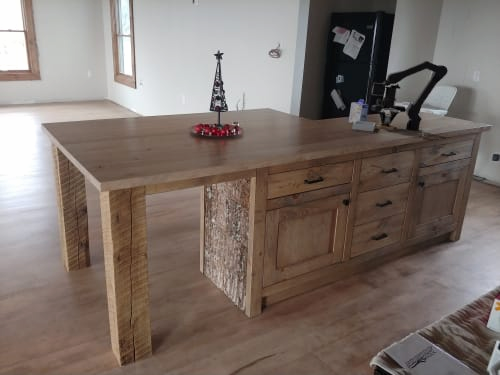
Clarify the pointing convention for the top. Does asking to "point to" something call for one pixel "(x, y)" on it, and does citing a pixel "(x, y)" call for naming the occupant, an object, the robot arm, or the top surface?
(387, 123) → the plug
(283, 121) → the top surface
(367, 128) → the bin
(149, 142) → the top surface
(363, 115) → the ink cartridge box
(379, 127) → the socket block
